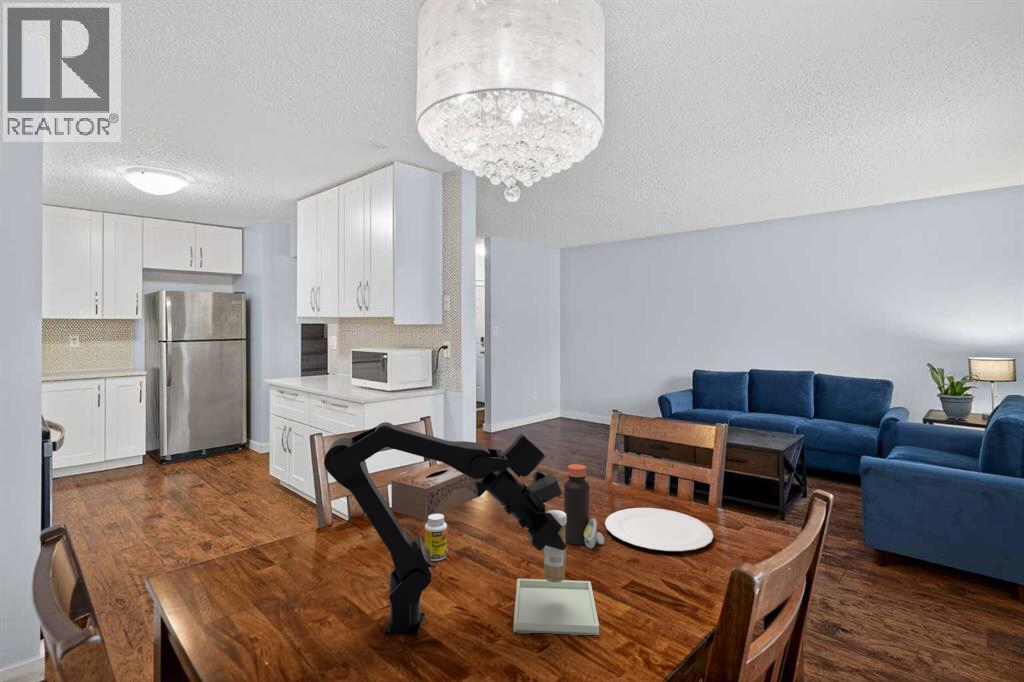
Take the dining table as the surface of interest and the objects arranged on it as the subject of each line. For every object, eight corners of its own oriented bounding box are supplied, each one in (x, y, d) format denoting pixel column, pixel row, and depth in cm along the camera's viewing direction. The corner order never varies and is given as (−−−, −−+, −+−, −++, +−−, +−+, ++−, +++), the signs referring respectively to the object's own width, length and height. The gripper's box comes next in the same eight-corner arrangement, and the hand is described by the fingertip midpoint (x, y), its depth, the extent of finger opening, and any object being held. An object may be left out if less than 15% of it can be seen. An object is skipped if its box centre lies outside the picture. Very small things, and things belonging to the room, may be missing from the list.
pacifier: (593, 538, 124) (580, 547, 127) (614, 547, 125) (600, 556, 129) (594, 512, 129) (581, 522, 133) (614, 521, 131) (601, 530, 134)
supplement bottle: (430, 564, 119) (430, 522, 118) (421, 555, 123) (421, 515, 123) (450, 558, 122) (451, 517, 121) (441, 549, 126) (441, 510, 126)
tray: (599, 636, 92) (599, 625, 91) (513, 632, 92) (513, 622, 92) (590, 590, 108) (590, 581, 107) (517, 587, 108) (517, 578, 108)
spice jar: (567, 574, 102) (568, 511, 102) (562, 585, 98) (563, 518, 98) (546, 570, 104) (547, 507, 104) (540, 581, 100) (541, 515, 99)
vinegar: (570, 532, 137) (571, 461, 137) (593, 538, 134) (593, 465, 133) (559, 541, 132) (559, 467, 131) (582, 547, 128) (583, 471, 127)
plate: (738, 546, 130) (738, 539, 130) (646, 565, 119) (647, 558, 119) (665, 508, 157) (665, 502, 157) (585, 521, 146) (586, 514, 146)
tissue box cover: (425, 522, 145) (425, 488, 144) (391, 512, 153) (391, 480, 152) (478, 497, 166) (479, 467, 166) (446, 489, 174) (446, 461, 174)
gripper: (552, 477, 90) (606, 532, 93) (526, 452, 109) (572, 498, 111) (509, 522, 89) (565, 577, 92) (490, 489, 107) (538, 535, 110)
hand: (561, 543), depth 101 cm, fingers closed on spice jar, 4 cm apart
